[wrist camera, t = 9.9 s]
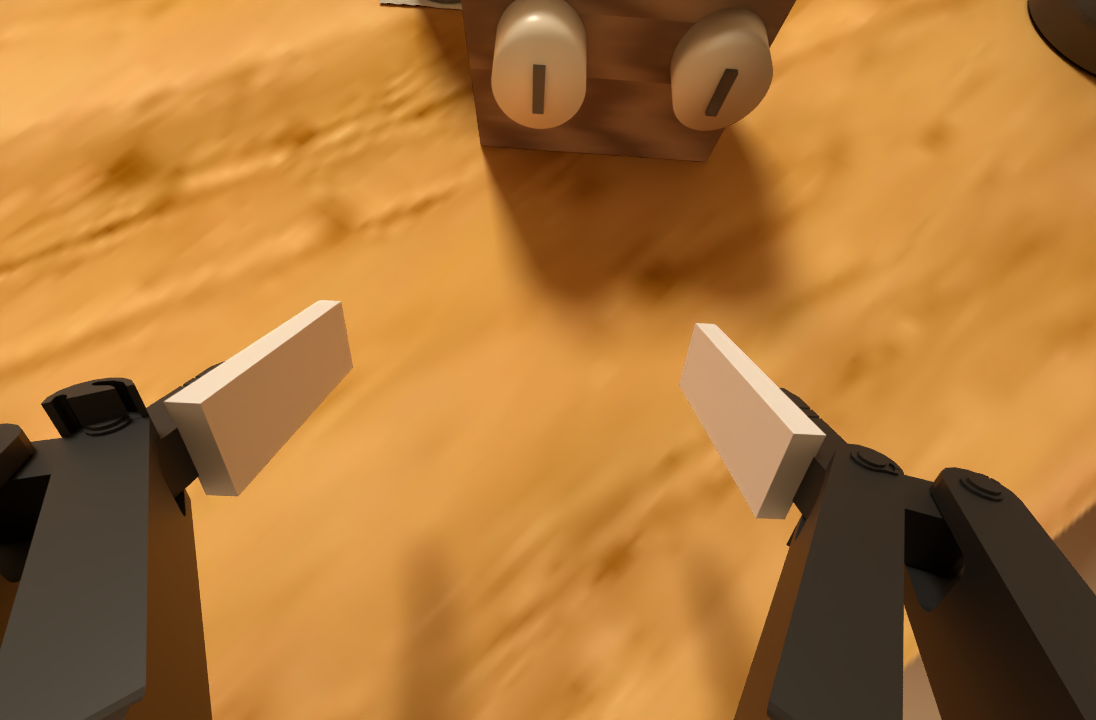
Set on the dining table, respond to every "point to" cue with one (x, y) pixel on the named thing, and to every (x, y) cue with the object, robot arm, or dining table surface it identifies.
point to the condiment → (428, 3)
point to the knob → (539, 63)
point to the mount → (643, 75)
